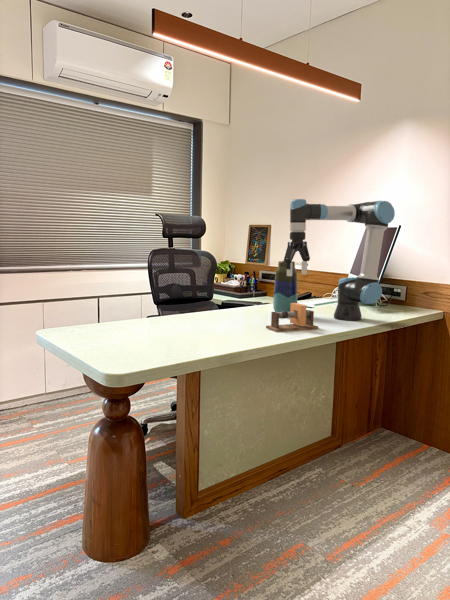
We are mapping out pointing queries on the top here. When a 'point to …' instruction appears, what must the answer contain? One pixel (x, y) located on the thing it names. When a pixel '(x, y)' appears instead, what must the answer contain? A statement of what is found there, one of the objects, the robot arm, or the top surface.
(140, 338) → the top surface
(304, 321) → the collar
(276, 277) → the vase
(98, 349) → the top surface
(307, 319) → the pipe rig
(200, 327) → the top surface
